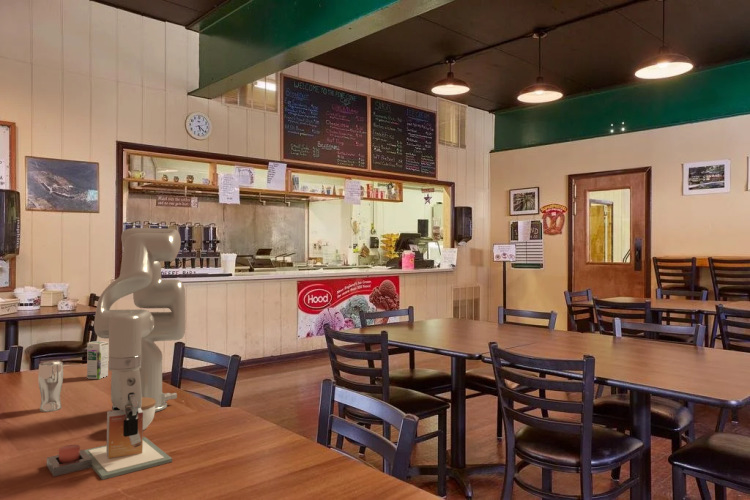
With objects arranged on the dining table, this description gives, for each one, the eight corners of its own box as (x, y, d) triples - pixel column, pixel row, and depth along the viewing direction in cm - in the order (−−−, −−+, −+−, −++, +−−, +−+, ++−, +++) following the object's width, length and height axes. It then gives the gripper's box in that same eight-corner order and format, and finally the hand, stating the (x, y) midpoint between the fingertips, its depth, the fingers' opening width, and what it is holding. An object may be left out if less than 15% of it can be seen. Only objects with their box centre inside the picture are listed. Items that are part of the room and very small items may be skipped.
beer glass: (33, 410, 172) (33, 364, 172) (53, 404, 179) (53, 360, 179) (48, 413, 170) (48, 366, 170) (67, 407, 176) (68, 362, 176)
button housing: (83, 457, 135) (83, 449, 135) (91, 467, 129) (91, 459, 129) (46, 465, 129) (46, 457, 129) (53, 476, 123) (53, 467, 123)
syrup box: (86, 379, 214) (86, 342, 214) (96, 375, 220) (96, 340, 220) (99, 379, 213) (99, 343, 213) (108, 376, 219) (109, 340, 219)
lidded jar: (146, 420, 164) (147, 389, 164) (161, 428, 156) (161, 396, 156) (109, 428, 157) (110, 396, 157) (123, 437, 149) (123, 404, 149)
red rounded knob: (77, 454, 132) (77, 443, 132) (81, 460, 129) (81, 448, 129) (56, 459, 129) (57, 447, 129) (60, 464, 126) (61, 452, 126)
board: (144, 439, 148) (145, 436, 148) (172, 461, 133) (172, 457, 133) (80, 453, 137) (80, 450, 137) (102, 479, 122) (102, 475, 122)
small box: (107, 459, 131) (108, 416, 131) (106, 451, 136) (106, 410, 136) (143, 453, 135) (143, 411, 135) (140, 446, 140) (140, 406, 140)
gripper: (152, 366, 131) (151, 436, 132) (129, 355, 144) (129, 418, 145) (119, 370, 127) (119, 443, 127) (99, 358, 140) (99, 424, 140)
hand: (124, 430), depth 136 cm, fingers open, 9 cm apart
